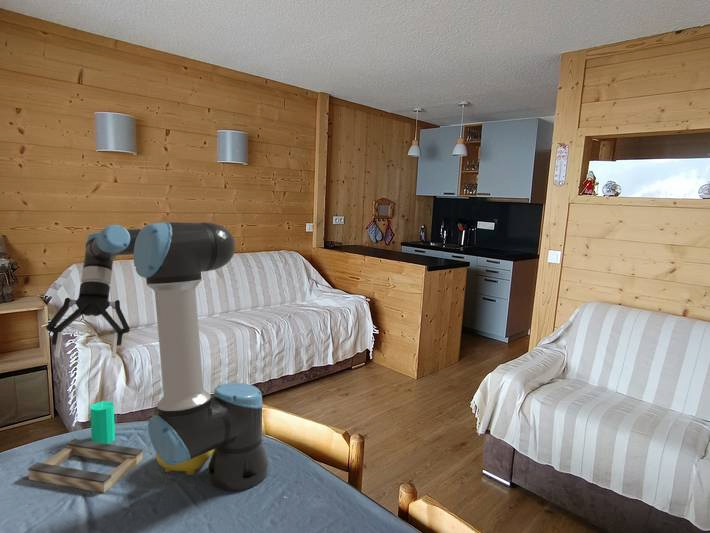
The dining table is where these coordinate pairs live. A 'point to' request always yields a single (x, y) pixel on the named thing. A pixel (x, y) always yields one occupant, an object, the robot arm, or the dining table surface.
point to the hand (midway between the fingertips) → (85, 357)
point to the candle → (102, 422)
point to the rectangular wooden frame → (83, 478)
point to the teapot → (186, 464)
